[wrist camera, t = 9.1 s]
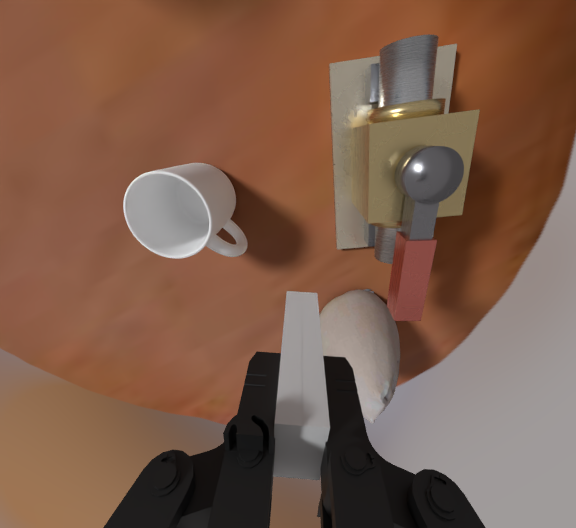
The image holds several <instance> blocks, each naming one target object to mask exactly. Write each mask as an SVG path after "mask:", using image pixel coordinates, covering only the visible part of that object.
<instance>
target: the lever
mask: <svg viewBox="0 0 576 528" xmlns="http://www.w3.org/2000/svg"><path fill="white" fill-rule="evenodd" d="M463 174H464V164H463V160H462V158H461V156H460V155H459V154H458V152H456V151H455V150H454V149H452V148H449V147H445V146H418V147H415V148H413V149H411V150H410V151H408V152H407V153H406V154H405V155H404V156H403V157H402V158H401V159H400V161H399V162H398V164H397V167H396V170H395V183H396V186H397V188H398V189H399V191H400V192H401V193H403V194H404V195H405V203H404V210H403V217H402V224H401V231H397V233H396V240H395V248H394V255H393V263H392V271H391V278H390V286H389V293H388V301H387V307H388V309H389V311H390V313H391V315H392V317H393V319H394V321H421V317H422V312H423V307H424V302H425V297H426V292H427V287H428V282H429V277H430V273H431V268H432V263H433V258H434V253H435V248H436V243H437V240H436V239H435V238H433V232H434V227H435V222H436V217H437V212H438V207H439V202H441V201H443V200H445V199H447V198H448V197H449V196H451V195H452V194H453V193H454V192H455V191H456V189H457V188H458V187H459V185H460V183H461V181H462V178H463Z"/></svg>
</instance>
